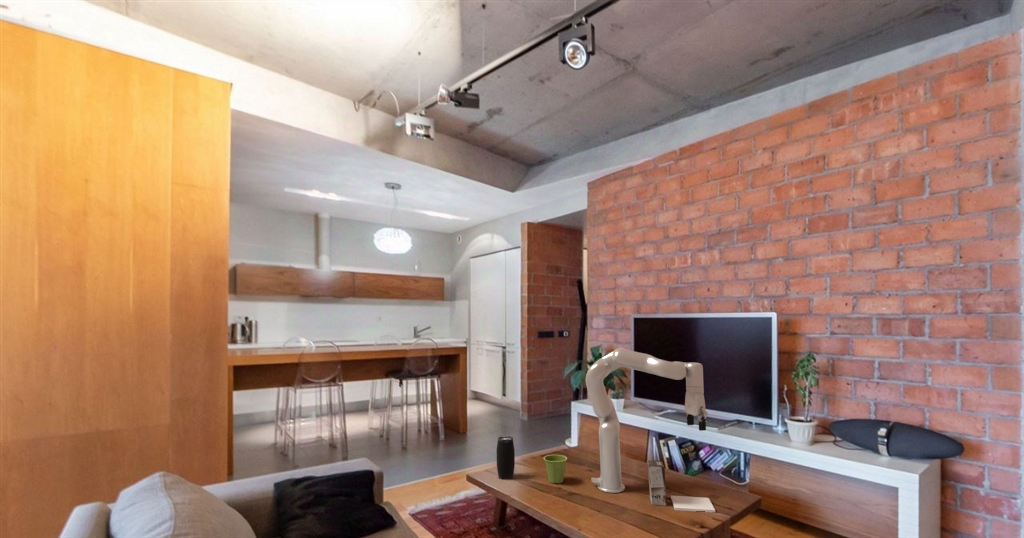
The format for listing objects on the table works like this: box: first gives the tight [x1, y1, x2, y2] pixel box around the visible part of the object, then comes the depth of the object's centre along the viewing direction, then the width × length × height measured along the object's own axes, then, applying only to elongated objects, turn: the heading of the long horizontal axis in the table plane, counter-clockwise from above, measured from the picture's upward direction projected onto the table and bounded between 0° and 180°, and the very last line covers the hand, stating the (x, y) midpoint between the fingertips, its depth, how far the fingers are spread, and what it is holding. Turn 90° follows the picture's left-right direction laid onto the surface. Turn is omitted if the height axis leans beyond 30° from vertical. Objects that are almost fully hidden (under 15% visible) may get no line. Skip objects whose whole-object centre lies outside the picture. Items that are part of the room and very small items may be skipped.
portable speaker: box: [496, 435, 516, 480], centre depth 235 cm, size 9×9×20 cm
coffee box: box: [647, 460, 667, 506], centre depth 202 cm, size 9×6×16 cm
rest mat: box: [670, 495, 716, 513], centre depth 197 cm, size 16×13×1 cm
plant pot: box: [543, 454, 568, 484], centre depth 228 cm, size 12×12×11 cm
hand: (696, 427), depth 210 cm, fingers open, 9 cm apart
